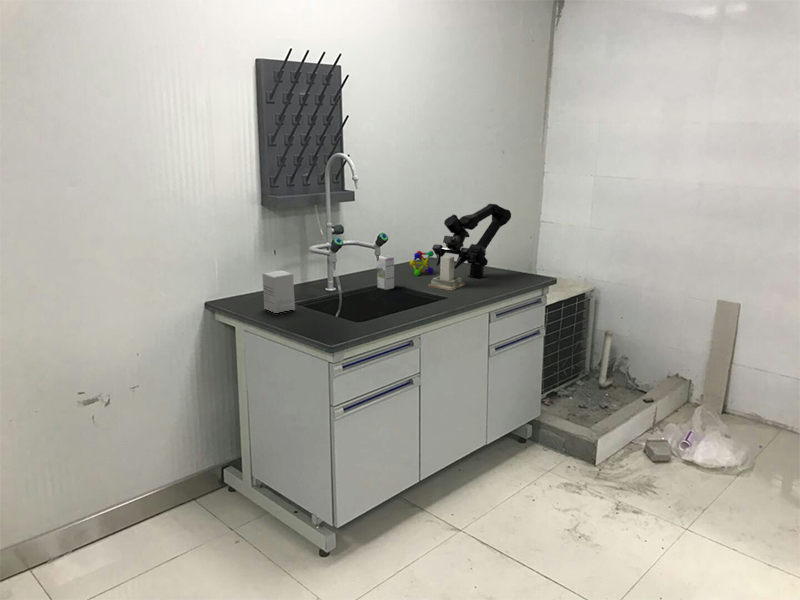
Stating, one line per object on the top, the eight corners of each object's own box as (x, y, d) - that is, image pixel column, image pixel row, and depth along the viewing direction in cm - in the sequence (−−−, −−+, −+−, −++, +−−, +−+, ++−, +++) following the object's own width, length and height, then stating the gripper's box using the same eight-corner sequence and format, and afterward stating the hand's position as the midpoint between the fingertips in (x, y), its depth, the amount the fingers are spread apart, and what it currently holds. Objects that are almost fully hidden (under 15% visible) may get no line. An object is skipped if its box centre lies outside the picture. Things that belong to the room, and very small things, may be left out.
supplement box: (283, 305, 255) (281, 269, 251) (295, 310, 248) (294, 273, 244) (263, 309, 249) (261, 272, 245) (275, 314, 242) (273, 276, 239)
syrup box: (394, 288, 284) (394, 256, 280) (385, 290, 280) (385, 258, 276) (385, 285, 288) (385, 254, 284) (376, 287, 284) (376, 256, 280)
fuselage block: (444, 282, 291) (445, 255, 288) (453, 283, 289) (454, 256, 285) (440, 283, 288) (440, 257, 284) (448, 285, 285) (449, 258, 282)
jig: (441, 281, 297) (441, 274, 296) (465, 284, 290) (465, 277, 289) (428, 286, 287) (428, 279, 286) (452, 290, 280) (452, 282, 279)
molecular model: (416, 276, 306) (417, 253, 303) (408, 273, 311) (408, 250, 308) (435, 274, 312) (436, 251, 309) (426, 271, 318) (427, 248, 315)
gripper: (434, 226, 290) (421, 254, 284) (470, 230, 280) (458, 259, 274) (442, 241, 298) (430, 268, 292) (478, 245, 288) (466, 273, 282)
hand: (445, 266), depth 285 cm, fingers open, 9 cm apart
